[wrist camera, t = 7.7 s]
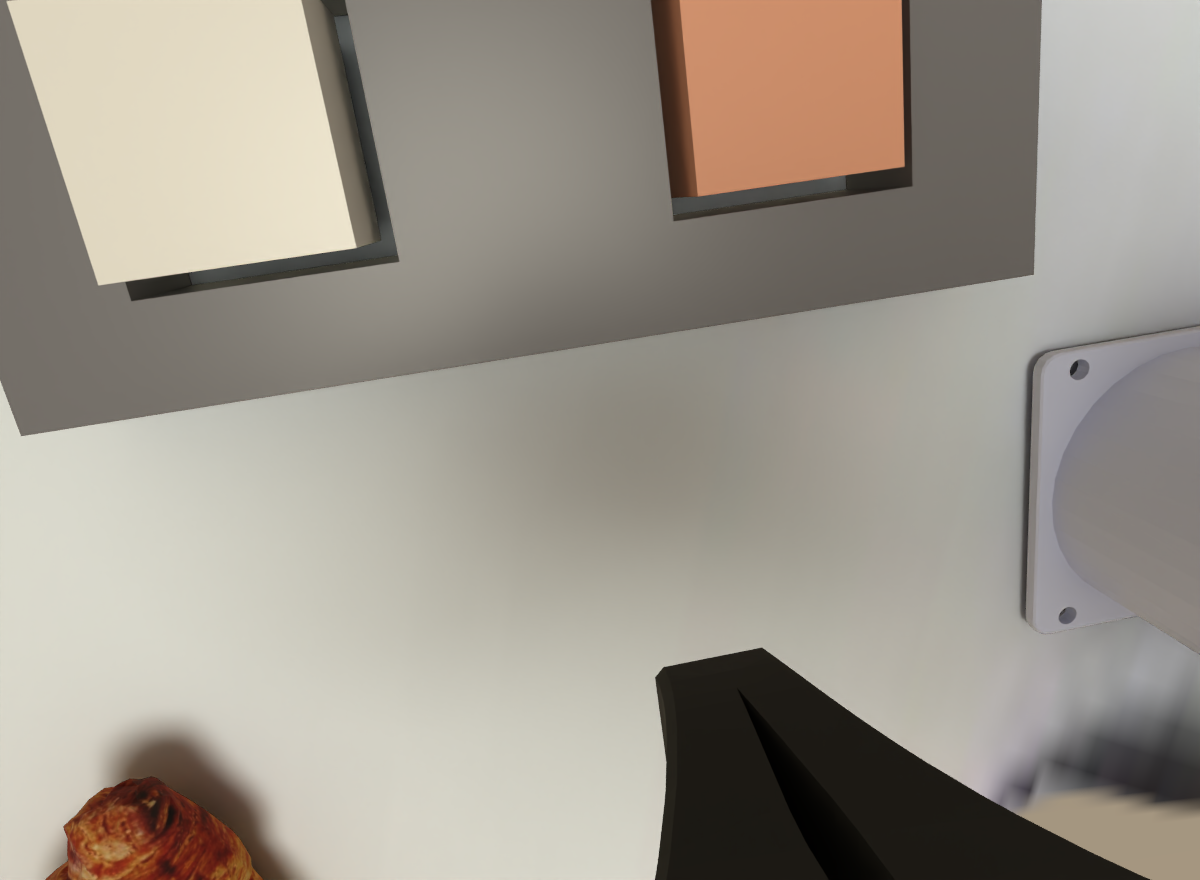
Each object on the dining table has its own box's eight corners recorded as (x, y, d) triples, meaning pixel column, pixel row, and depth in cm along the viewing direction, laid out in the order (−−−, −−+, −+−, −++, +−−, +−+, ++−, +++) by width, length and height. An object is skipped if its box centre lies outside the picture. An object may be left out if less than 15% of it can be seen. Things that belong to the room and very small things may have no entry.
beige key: (333, 15, 14) (294, -32, 11) (381, 240, 16) (356, 247, 13) (105, 42, 14) (6, 1, 11) (172, 270, 15) (97, 285, 12)
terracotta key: (829, -28, 16) (900, -77, 14) (838, 173, 18) (904, 166, 15) (642, -5, 16) (674, -50, 13) (664, 198, 17) (697, 196, 14)
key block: (952, -173, 16) (1049, -251, 14) (952, 264, 19) (1033, 274, 16) (-58, -65, 15) (-191, -130, 12) (97, 398, 17) (21, 436, 15)
